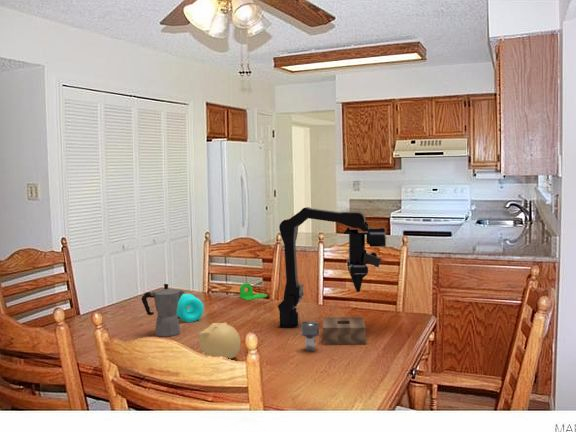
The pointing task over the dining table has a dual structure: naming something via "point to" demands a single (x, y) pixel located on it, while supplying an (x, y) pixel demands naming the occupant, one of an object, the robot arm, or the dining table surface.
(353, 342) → the block
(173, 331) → the coffeepot
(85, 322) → the dining table surface
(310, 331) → the steel pin
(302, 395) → the dining table surface
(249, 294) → the mechanical part
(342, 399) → the dining table surface
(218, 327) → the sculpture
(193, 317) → the donuts
